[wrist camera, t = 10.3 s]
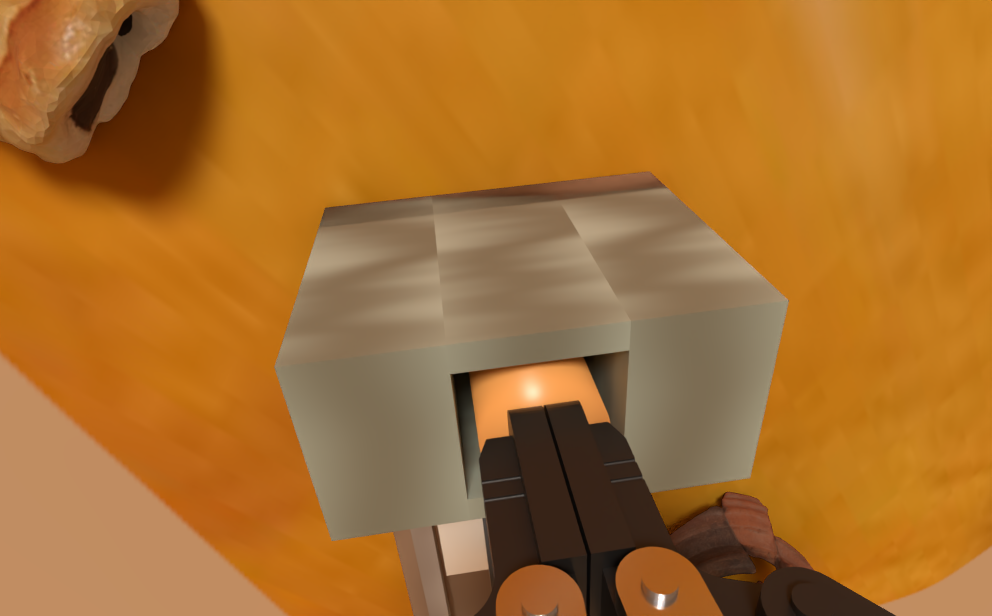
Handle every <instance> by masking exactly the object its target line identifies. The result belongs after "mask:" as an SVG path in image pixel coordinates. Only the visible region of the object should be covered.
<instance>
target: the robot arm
mask: <svg viewBox="0 0 992 616" xmlns="http://www.w3.org/2000/svg"><path fill="white" fill-rule="evenodd" d="M507 417H508V430H509V436H505V437H498V438H491V439H486V441H485V444H484V446H483V449H482V452H481V454H480V457H479V467H480V475H481V484H482V492H483V501H484V509H485V516H486V524H487V531H488V538H489V545H490V552H491V560H492V567H493V574H494V585H493V588H492V592H491V594H490V596H489V598H488V600H487V601H486V603H485V604H484V606H483V607H482V608H481V609H480V610H479V612H477V613H476V614H475V615H474V616H895V615H894V614H892V613H890V612H888V611H887V610H885V609H883V608H881V607H880V606H878V605H876V604H875V603H873V602H871V601H869V600H868V599H866V598H864V597H862V596H861V595H859V594H857V593H855V592H854V591H852V590H850V589H848V588H847V587H845V586H843V585H841V584H840V583H838V582H836V581H835V580H833V579H831V578H829V577H828V576H826V575H824V574H822V573H820V572H817V571H814V570H811V569H807V568H803V567H785V568H780V569H778V570H776V571H774V572H772V573H771V574H770V575H768V577H767V578H766V579H765V581H764V583H763V584H758V583H752V582H745V581H738V580H732V579H725V578H721V577H716V576H713V575H710V574H708V573H706V572H704V571H702V570H700V569H698V568H696V567H695V566H694V565H693V564H692V563H691V562H690V561H689V560H687V559H686V558H685V557H683V556H682V555H681V554H680V553H679V551H678V550H677V549H676V547H675V546H674V544H673V542H672V540H671V538H670V535H669V533H668V531H667V529H666V526H665V524H664V522H663V520H662V518H661V515H660V513H659V511H658V509H657V506H656V504H655V502H654V500H653V497H652V495H651V493H650V491H649V488H648V486H647V484H646V482H645V480H644V479H643V476H642V473H641V471H640V468H639V466H638V464H637V462H635V457H634V455H633V453H632V450H631V448H630V446H629V444H628V442H627V439H626V438H625V437H624V436H623V435H622V434H621V433H620V432H619V431H618V430H617V429H616V428H615V427H613V426H612V425H611V424H610V423H609V422H602V423H595V424H589V423H588V421H587V418H586V415H585V413H584V410H583V408H582V405H581V403H580V401H579V400H576V401H569V402H562V403H555V404H547V405H544V407H542V406H534V407H527V408H520V409H513V410H507Z"/></svg>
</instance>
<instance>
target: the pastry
mask: <svg viewBox="0 0 992 616" xmlns="http://www.w3.org/2000/svg"><path fill="white" fill-rule="evenodd" d="M178 13H179V0H0V141H3V142H6V143H9V144H12V145H14V146H15V147H17V148H19V149H20V150H23V151H27V152H30V153H34V154H36V155H37V156H38V157H40V158H41V159H42V160H44V161H46V162H51V163H65V162H68V161H70V160H72V159H74V158H77V157H80V156H82V155H83V154H84V153H85V152H86V150H87V148H88V146H89V143H90V141H91V138H92V135H93V132H94V130H95V129H96V126H97V125H98V124H99V123H100V122H107V121H110V120H111V119H112V118H113V117H114V116H115V115H116V114H117V113H118V112H119V110H120V109H121V107H122V105H123V103H124V102H125V101H126V99H127V98H128V95H129V90H130V86H131V83H132V82H133V80H134V79H135V77H136V74H137V70H138V67H139V62H140V58H141V56H142V55H143V54H145V53H146V52H148V51H149V50H152V49H154V48H156V47H157V46H158V45H160V44H161V43H162V42H163V41H164V40H165V38H166V37H167V36H168V33H169V30H170V28H171V26H172V24H173V22H174V21H175V19H176V18H177V16H178Z"/></svg>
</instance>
